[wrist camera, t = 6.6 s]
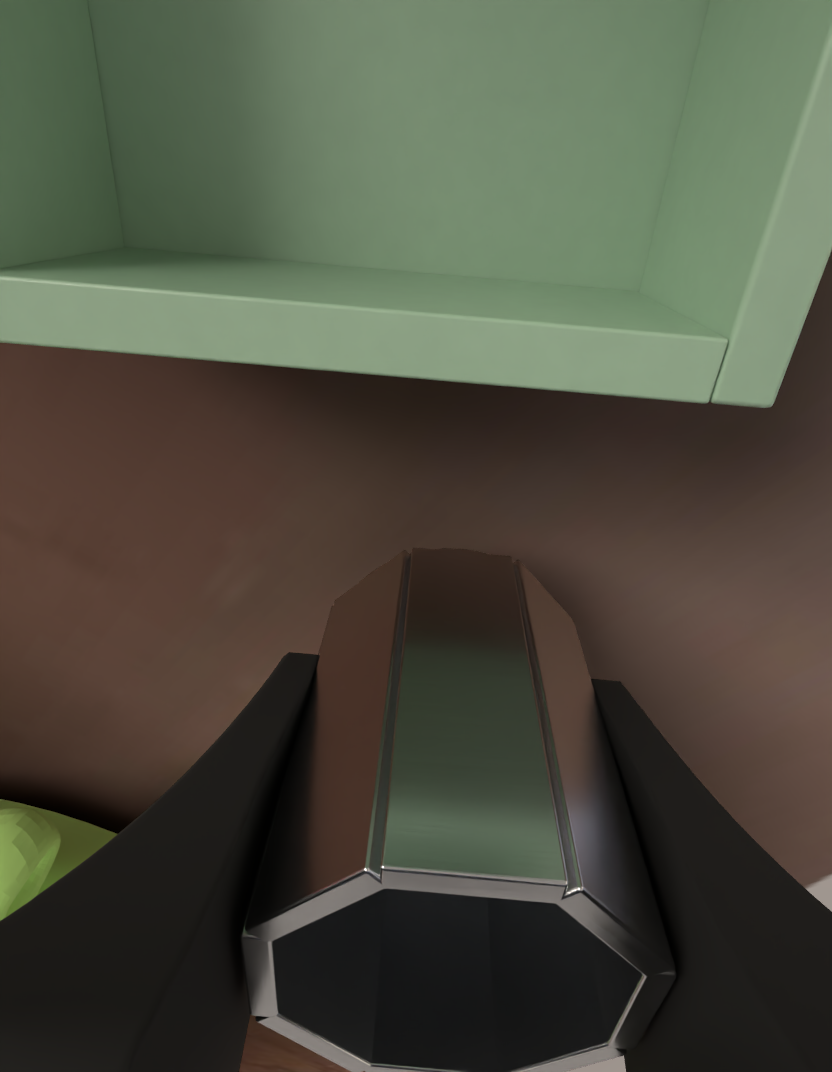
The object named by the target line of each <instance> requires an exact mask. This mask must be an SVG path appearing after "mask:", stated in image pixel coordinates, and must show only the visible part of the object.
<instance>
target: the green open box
mask: <svg viewBox="0 0 832 1072" xmlns="http://www.w3.org/2000/svg"><path fill="white" fill-rule="evenodd" d="M831 250H832V0H0V342H1V343H12V344H24V345H35V346H47V347H58V348H70V349H82V350H93V351H105V352H116V353H128V354H139V355H151V356H162V357H174V358H185V359H197V360H208V361H220V362H231V363H243V364H254V365H266V366H277V367H289V368H300V369H312V370H323V371H335V372H346V373H358V374H369V375H381V376H392V377H404V378H415V379H427V380H438V381H450V382H461V383H473V384H484V385H496V386H507V387H519V388H530V389H542V390H553V391H565V392H576V393H588V394H600V395H611V396H623V397H634V398H646V399H657V400H669V401H680V402H692V403H703V404H704V403H708V402H709V401H710V402H712V403H714V404H723V405H735V406H746V407H758V408H767V407H771V406H772V405H773V404H774V401H775V399H776V396H777V393H778V391H779V388H780V385H781V383H782V380H783V378H784V375H785V372H786V370H787V367H788V364H789V362H790V359H791V356H792V354H793V351H794V348H795V346H796V343H797V340H798V338H799V335H800V332H801V330H802V327H803V324H804V322H805V319H806V317H807V314H808V311H809V309H810V306H811V303H812V301H813V298H814V295H815V293H816V290H817V287H818V285H819V282H820V279H821V277H822V274H823V271H824V269H825V266H826V264H827V261H828V258H829V256H830V253H831Z"/></svg>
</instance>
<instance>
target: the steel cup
mask: <svg viewBox="0 0 832 1072" xmlns="http://www.w3.org/2000/svg"><path fill="white" fill-rule="evenodd" d="M318 655H320V657H319V660H318V664H317V667H316V671H315V675H314V678H313V682H312V685H311V689H310V693H309V696H308V699H307V702H306V704H305V707H304V710H303V712H302V715H301V718H300V721H299V724H298V728H297V731H296V735H295V738H294V742H293V745H292V749H291V753H290V756H289V760H288V763H287V767H286V770H285V774H284V777H283V781H282V784H281V788H280V792H279V795H278V799H277V802H276V806H275V809H274V813H273V816H272V820H271V824H270V827H269V831H268V834H267V838H266V841H265V845H264V848H263V852H262V856H261V859H260V863H259V866H258V870H257V873H256V877H255V880H254V884H253V887H252V891H251V895H250V898H249V902H248V905H247V909H246V912H245V916H244V919H243V923H242V927H241V930H240V934H239V936H240V944H241V952H242V960H243V967H244V975H245V982H246V990H247V997H248V1005H249V1013H250V1014H251V1015H253V1016H256V1021H257V1022H258V1023H260V1024H262V1025H264V1026H266V1027H268V1028H270V1029H272V1030H274V1031H275V1032H277V1033H279V1034H281V1035H283V1036H285V1037H287V1038H289V1039H291V1040H292V1041H294V1042H296V1043H298V1044H300V1045H302V1046H304V1047H306V1048H308V1049H309V1050H311V1051H313V1052H315V1053H317V1054H319V1055H321V1056H323V1057H325V1058H326V1059H328V1060H330V1061H332V1062H334V1063H336V1064H338V1065H340V1066H342V1067H343V1068H345V1069H347V1070H349V1071H351V1072H362V1071H364V1072H566V1071H570V1070H574V1069H577V1068H581V1067H584V1066H588V1065H591V1064H595V1063H598V1062H602V1061H606V1060H609V1059H612V1058H616V1057H619V1056H623V1055H626V1054H627V1049H630V1050H634V1049H636V1047H637V1045H638V1043H639V1042H640V1040H641V1038H642V1036H643V1035H644V1033H645V1031H646V1029H647V1028H648V1026H649V1024H650V1022H651V1021H652V1019H653V1017H654V1015H655V1014H656V1012H657V1010H658V1008H659V1007H660V1005H661V1003H662V1001H663V1000H664V998H665V996H666V994H667V993H668V991H669V989H670V987H671V986H672V984H673V982H674V980H675V979H676V976H677V973H676V969H675V964H674V961H673V957H672V954H671V950H670V947H669V944H668V940H667V937H666V933H665V930H664V927H663V923H662V920H661V916H660V913H659V910H658V906H657V903H656V899H655V896H654V893H653V889H652V886H651V882H650V879H649V876H648V872H647V869H646V865H645V862H644V859H643V855H642V852H641V848H640V845H639V842H638V838H637V835H636V831H635V828H634V825H633V821H632V818H631V814H630V811H629V808H628V804H627V801H626V797H625V794H624V791H623V787H622V784H621V780H620V777H619V774H618V770H617V767H616V763H615V760H614V756H613V753H612V750H611V746H610V743H609V739H608V736H607V733H606V729H605V726H604V722H603V719H602V716H601V712H600V709H599V705H598V702H597V699H596V695H595V692H594V688H593V685H592V682H591V678H590V675H589V671H588V668H587V665H586V661H585V658H584V654H583V651H582V648H581V644H580V641H579V637H578V634H577V631H576V627H575V624H574V621H573V619H572V618H571V617H570V616H569V615H568V614H567V613H566V612H565V610H564V609H563V608H562V607H561V606H560V605H559V604H558V603H557V602H556V600H555V599H554V598H553V597H552V596H551V595H550V594H549V593H548V592H547V590H546V589H545V588H544V587H543V586H542V585H541V584H540V583H539V582H538V580H537V579H536V578H535V577H534V576H533V575H532V574H531V573H530V572H529V570H528V569H527V568H526V567H525V566H524V565H523V564H522V563H521V562H520V561H519V560H516V561H515V562H513V561H512V557H511V556H505V555H494V554H487V553H483V552H479V551H474V550H467V549H454V548H442V549H425V548H413V549H412V552H411V554H409V553H408V552H407V551H406V550H404V551H402V552H401V553H399V554H398V555H397V556H395V557H394V558H393V559H391V560H390V561H388V562H387V563H385V564H383V565H382V566H380V567H379V568H377V569H375V570H374V571H372V572H371V573H370V574H368V575H367V576H366V577H365V578H364V579H362V580H361V581H360V582H359V583H358V584H357V585H355V586H354V587H352V588H351V589H350V590H348V591H347V592H346V593H344V594H343V595H341V596H340V597H339V598H337V599H336V600H335V602H334V606H332V607H331V610H330V614H329V618H328V621H327V625H326V628H325V632H324V635H323V639H322V642H321V646H320V650H319V653H318Z"/></svg>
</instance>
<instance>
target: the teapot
mask: <svg viewBox="0 0 832 1072" xmlns="http://www.w3.org/2000/svg"><path fill="white" fill-rule="evenodd" d="M116 835H117V834H116V833H113V832H111V831H108V830H105V829H103V828H100V827H97V826H95V825H92V824H89V823H87V822H84V821H81V820H77V819H74V818H71V817H68V816H65V815H62V814H59V813H56V812H52V811H48V810H45V809H41V808H37V807H33V806H29V805H25V804H22V803H17V802H13V801H8V800H3V799H0V921H1V920H3V919H4V918H6V917H7V916H9V915H10V914H12V913H13V912H14V911H16V910H17V909H19V908H20V907H22V906H23V905H25V904H26V903H28V902H29V901H30V900H32V899H33V898H34V897H36V896H37V895H39V894H40V893H41V892H43V891H44V890H45V889H47V888H48V887H49V886H51V885H52V884H54V883H55V882H56V881H58V880H59V879H60V878H62V877H63V876H65V875H66V874H67V873H69V872H70V871H71V870H73V869H74V868H76V867H77V866H78V865H80V864H81V863H82V862H84V861H85V860H86V859H88V858H89V857H90V856H91V855H93V854H94V853H95V852H96V851H98V850H99V849H100V848H101V847H103V846H104V845H105V844H106V843H108V842H109V841H110V840H111V839H113V838H114V837H115V836H116Z"/></svg>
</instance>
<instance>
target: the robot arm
mask: <svg viewBox="0 0 832 1072" xmlns="http://www.w3.org/2000/svg"><path fill="white" fill-rule="evenodd" d="M319 657H320V655H314V654H302V653H291V652H289V653H288V654H286V655H285V656H284V657H283V658H282V659H281V661H280V662H279V664H278V665H277V667H276V668H275V669H274V671H273V672H272V674H271V675H270V676H269V678H268V679H267V680H266V682H265V683H264V684H263V686H262V687H261V688H260V690H259V691H258V692H257V693H256V695H255V696H254V697H253V698H252V700H251V701H250V702H249V703H248V705H247V706H246V707H245V708H244V709H243V710H242V712H241V713H240V714H239V715H238V716H237V718H236V719H235V720H234V721H233V722H232V723H231V725H230V726H229V727H228V728H227V729H226V731H225V732H224V733H223V734H222V735H221V736H220V737H219V738H218V739H217V740H216V742H215V743H214V744H213V745H212V746H211V747H210V748H209V749H208V750H207V751H206V752H205V753H204V754H203V755H202V756H201V757H200V758H199V760H198V761H197V762H196V763H195V764H194V765H193V766H192V767H191V768H190V769H189V770H188V771H187V772H186V773H185V774H184V775H183V776H182V777H181V778H180V779H179V780H178V781H177V782H176V783H175V784H174V785H173V786H172V787H171V788H170V789H168V790H167V791H166V792H165V793H164V794H163V795H162V796H161V797H160V798H159V799H158V800H157V801H155V802H154V803H153V804H152V805H151V806H150V807H149V808H148V809H147V810H146V811H144V812H143V813H142V814H141V815H140V816H139V817H137V818H136V819H135V820H134V821H133V822H132V823H130V824H129V825H128V826H127V827H126V828H124V829H123V830H122V831H121V832H120V833H118V834H117V835H116V836H115V837H114V838H113V839H111V840H110V841H109V842H108V843H106V844H105V845H104V846H103V847H101V848H100V849H99V850H98V851H96V852H95V853H94V854H93V855H91V856H90V857H89V858H88V859H86V860H85V861H84V862H82V863H81V864H80V865H78V866H77V867H76V868H74V869H73V870H71V871H70V872H69V873H67V874H66V875H65V876H63V877H62V878H60V879H59V880H58V881H56V882H55V883H54V884H52V885H51V886H49V887H48V888H47V889H45V890H44V891H43V892H41V893H40V894H39V895H37V896H36V897H34V898H33V899H32V900H30V901H29V902H28V903H26V904H25V905H23V906H22V907H20V908H19V909H17V910H16V911H14V912H13V913H12V914H10V915H9V916H7V917H6V918H4V919H3V920H1V921H0V1072H239V1068H240V1063H241V1058H242V1053H243V1048H244V1043H245V1038H246V1033H247V1028H248V1023H249V1018H250V1013H249V1005H248V997H247V990H246V982H245V975H244V967H243V960H242V952H241V944H240V936H239V934H240V930H241V927H242V923H243V919H244V916H245V912H246V909H247V905H248V902H249V898H250V895H251V891H252V887H253V884H254V880H255V877H256V873H257V870H258V866H259V863H260V859H261V856H262V852H263V848H264V845H265V841H266V838H267V834H268V831H269V827H270V824H271V820H272V816H273V813H274V809H275V806H276V802H277V799H278V795H279V792H280V788H281V784H282V781H283V777H284V774H285V770H286V767H287V763H288V760H289V756H290V753H291V749H292V745H293V742H294V738H295V735H296V731H297V728H298V724H299V721H300V718H301V715H302V712H303V710H304V707H305V704H306V702H307V699H308V696H309V693H310V689H311V685H312V682H313V678H314V675H315V671H316V667H317V664H318V660H319ZM591 682H592V685H593V688H594V692H595V695H596V699H597V702H598V705H599V709H600V712H601V716H602V719H603V722H604V726H605V729H606V733H607V736H608V739H609V743H610V746H611V750H612V753H613V756H614V760H615V763H616V767H617V770H618V774H619V777H620V780H621V784H622V787H623V791H624V794H625V797H626V801H627V804H628V808H629V811H630V814H631V818H632V821H633V825H634V828H635V831H636V835H637V838H638V842H639V845H640V848H641V852H642V855H643V859H644V862H645V865H646V869H647V872H648V876H649V879H650V882H651V886H652V889H653V893H654V896H655V899H656V903H657V906H658V910H659V913H660V916H661V920H662V923H663V927H664V930H665V933H666V937H667V940H668V944H669V947H670V950H671V954H672V957H673V961H674V964H675V969H676V973H677V976H676V979H675V980H674V982H673V984H672V986H671V987H670V989H669V991H668V993H667V994H666V996H665V998H664V1000H663V1001H662V1003H661V1005H660V1007H659V1008H658V1010H657V1012H656V1014H655V1015H654V1017H653V1019H652V1021H651V1022H650V1024H649V1026H648V1028H647V1029H646V1031H645V1033H644V1035H643V1036H642V1038H641V1040H640V1042H639V1043H638V1045H637V1047H636V1049H634V1050H630V1049H627V1054H626V1055H624V1058H625V1066H626V1072H832V912H831V911H830V910H829V909H828V908H827V907H825V906H824V905H823V904H822V903H821V902H820V901H818V900H817V899H816V898H815V897H814V896H813V895H812V894H810V893H809V892H808V891H807V890H806V889H805V888H804V887H803V886H802V885H801V884H799V883H798V882H797V881H796V880H795V879H794V878H793V877H792V876H791V875H790V874H789V873H788V872H787V871H785V870H784V869H783V868H782V867H781V866H780V865H779V864H778V863H777V862H776V861H775V860H774V859H773V858H772V857H771V856H770V855H769V854H768V853H767V852H766V851H765V850H764V849H763V848H762V847H761V846H760V845H759V844H758V843H757V842H756V841H755V840H754V839H753V838H752V837H751V836H750V835H749V834H748V833H747V832H746V831H745V830H744V829H743V828H742V827H741V826H740V825H739V824H738V823H737V822H736V821H735V820H734V819H733V818H732V816H731V815H730V814H729V813H728V812H727V811H726V810H725V809H724V808H723V807H722V806H721V804H720V803H719V802H718V801H717V800H716V799H715V798H714V797H713V796H712V795H711V794H710V792H709V791H708V790H707V789H706V788H705V787H704V786H703V784H702V783H701V782H700V781H699V780H698V778H697V777H696V776H695V775H694V774H693V772H692V771H691V770H690V769H689V768H688V766H687V765H686V764H685V763H684V762H683V760H682V759H681V758H680V757H679V756H678V754H677V753H676V752H675V751H674V750H673V748H672V747H671V746H670V745H669V743H668V742H667V741H666V740H665V738H664V737H663V736H662V734H661V733H660V732H659V731H658V729H657V728H656V727H655V726H654V724H653V723H652V722H651V720H650V719H649V718H648V717H647V715H646V714H645V713H644V711H643V710H642V709H641V707H640V706H639V705H638V704H637V702H636V701H635V700H634V698H633V697H632V696H631V694H630V693H629V692H628V691H627V689H626V688H625V687H624V686H623V684H622V683H621V682H620V681H609V680H598V679H591Z"/></svg>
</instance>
